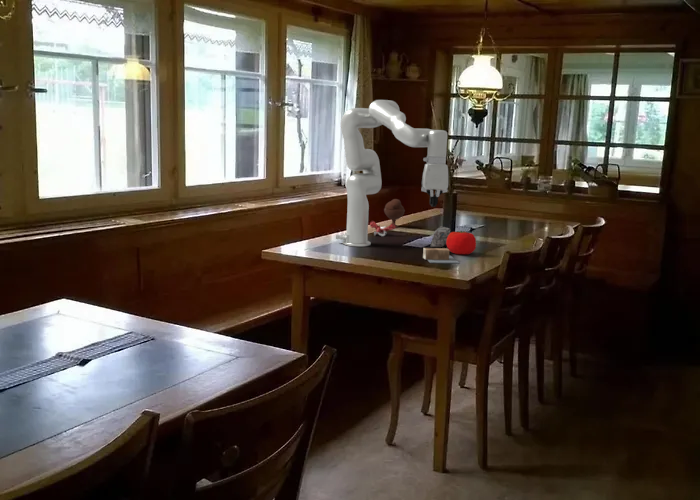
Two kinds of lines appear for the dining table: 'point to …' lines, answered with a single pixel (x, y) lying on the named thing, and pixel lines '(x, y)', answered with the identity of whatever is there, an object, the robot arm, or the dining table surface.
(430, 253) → the block
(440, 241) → the rock
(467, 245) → the tomato
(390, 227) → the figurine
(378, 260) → the dining table surface
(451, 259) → the mat
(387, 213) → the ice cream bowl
